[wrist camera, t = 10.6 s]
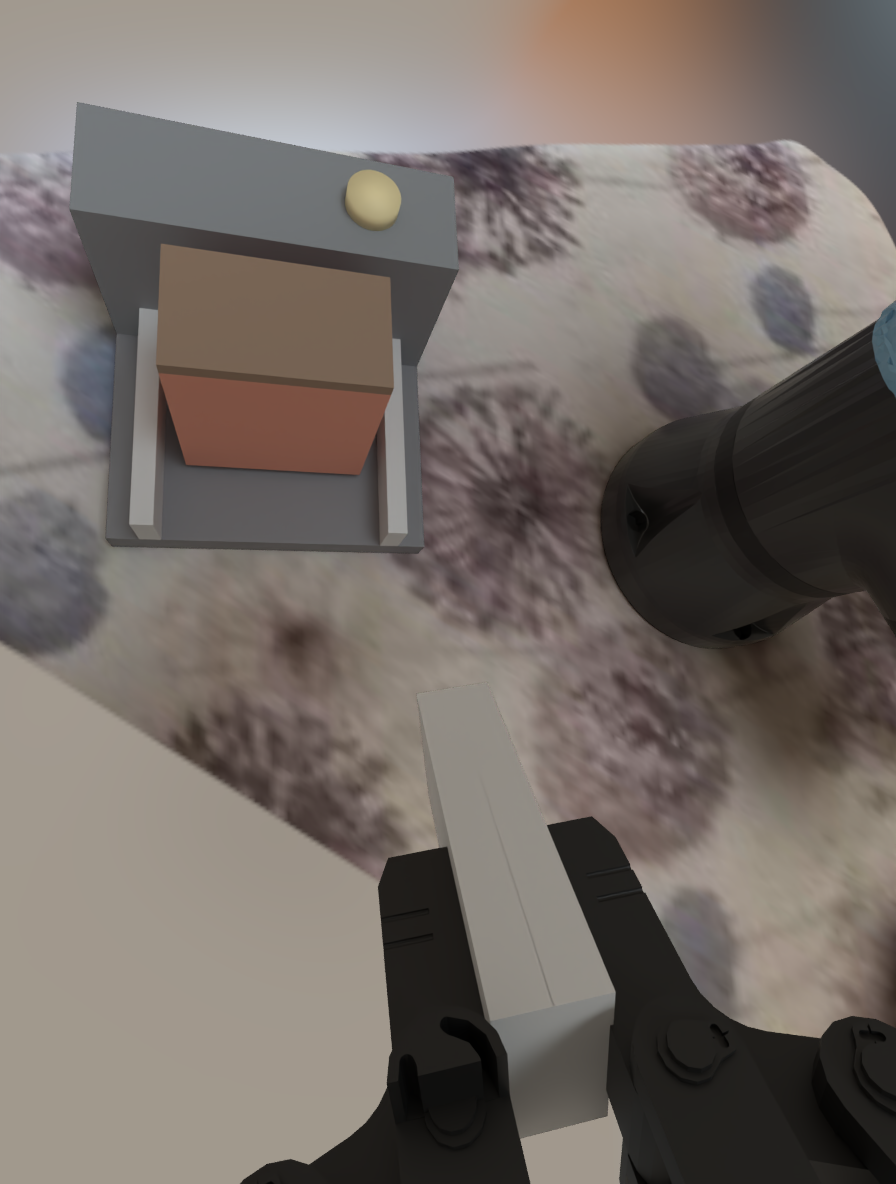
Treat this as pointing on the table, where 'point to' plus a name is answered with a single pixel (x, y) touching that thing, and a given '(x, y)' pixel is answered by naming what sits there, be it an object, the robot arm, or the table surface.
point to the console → (269, 231)
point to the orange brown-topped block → (272, 360)
